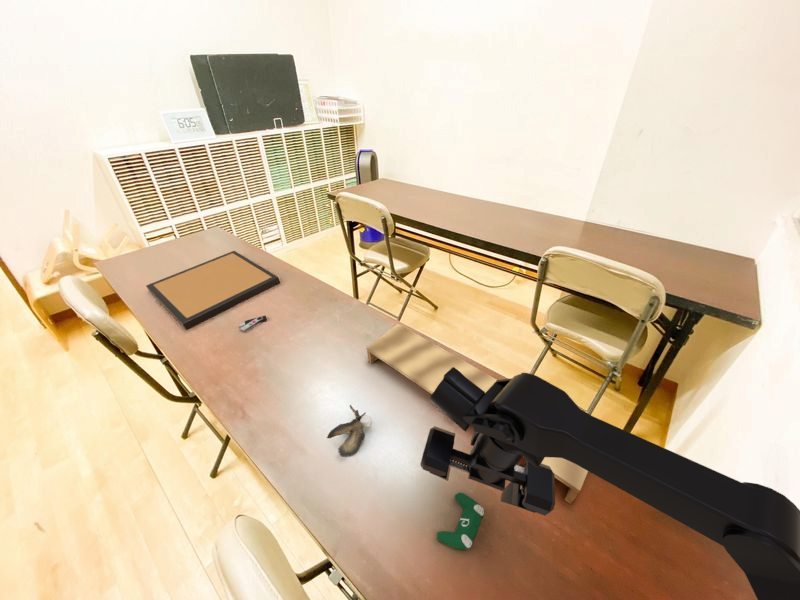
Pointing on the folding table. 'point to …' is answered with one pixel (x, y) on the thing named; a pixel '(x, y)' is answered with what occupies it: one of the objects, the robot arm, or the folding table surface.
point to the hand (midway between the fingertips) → (474, 487)
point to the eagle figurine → (352, 433)
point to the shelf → (428, 371)
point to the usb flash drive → (251, 323)
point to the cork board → (211, 288)
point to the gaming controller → (464, 524)
